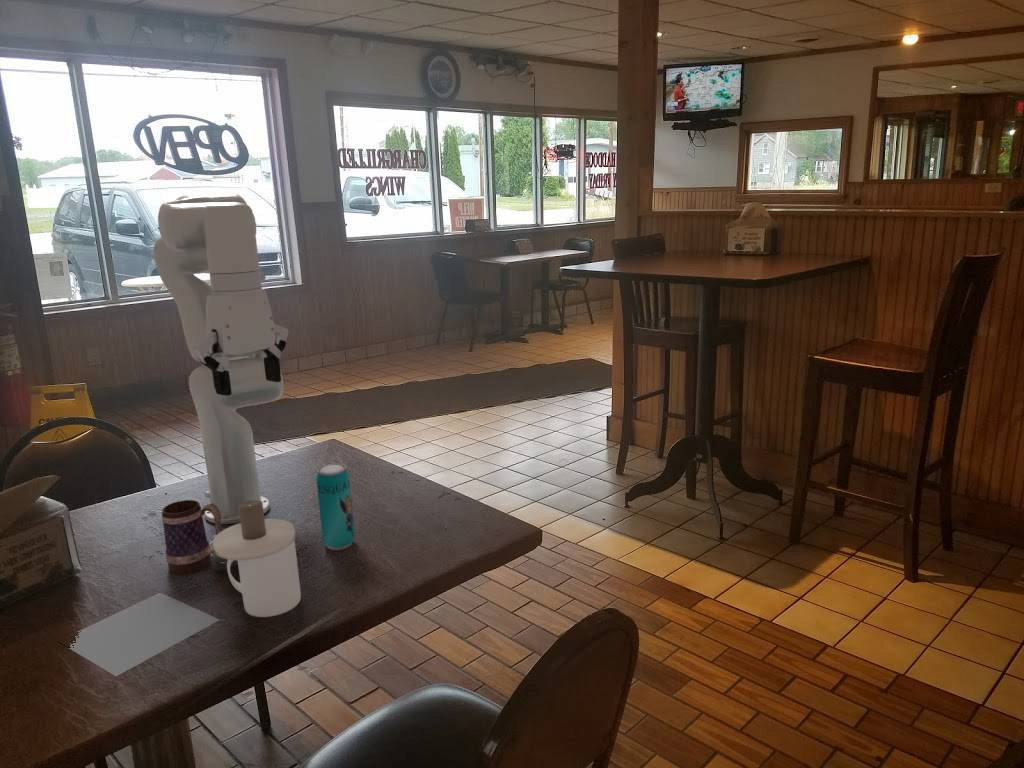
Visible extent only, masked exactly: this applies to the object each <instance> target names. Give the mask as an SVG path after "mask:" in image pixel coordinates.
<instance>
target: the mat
mask: <svg viewBox="0 0 1024 768" xmlns="http://www.w3.org/2000/svg"><path fill="white" fill-rule="evenodd" d="M219 621H221V619H219V618H217V617H214V616H213V615H211V614H208V613H206V612H203V611H202V610H199V609H197V608H195V607H193V606H191V605H189V604H187V603H184V602H182V601H180V600H178V599H175V598H173V597H171V596H169V595H166V594H165V593H162V592H158V593H155V594H154V595H152V596H150V597H148V598H146V599H144V600H141V601H139V602H137V603H134V604H133V605H130V606H129V607H127V608H124V609H123V610H120V611H118V612H116V613H114V614H112V615H110V616H107V617H106V618H104V619H101V620H100V621H97V622H95V623H93V624H90V625H89V626H87V627H84V628H82V629H80V630H78V631H77V632H80V631H81V632H80V633H78V634H79V635H78V636H79V638H77V637H78V636H75V637H76V643H73V644H71V643H70V644H71V645H70V647H71V648H68V649H69V650H70V649H71V651H72V652H74V653H75V654H77V655H79V656H81V657H82V658H84V659H85V660H87V661H89V662H90V663H92V664H94V665H96V666H97V667H99V668H101V669H102V670H104V671H106V672H107V673H109V674H111V675H112V676H114V677H115V678H116V677H118V676H121V675H122V674H124V673H126V672H128V671H130V670H132V669H134V668H135V667H136V666H139V665H141V664H143V663H145V662H146V661H149V660H150V659H152V658H153V657H155V656H157V655H159V654H161V653H163V652H164V651H166V650H168V649H170V648H172V647H174V646H176V645H177V644H179V643H181V642H183V641H185V640H187V639H188V638H190V637H192V636H193V635H195V634H197V633H200V632H202V631H203V630H205V629H207V628H209V627H211V626H212V625H214V624H216V623H217V622H219ZM73 642H75V641H73ZM72 645H74V646H72ZM73 647H74V648H73Z"/></svg>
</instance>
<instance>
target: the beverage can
mask: <svg viewBox="0 0 1024 768" xmlns="http://www.w3.org/2000/svg"><path fill="white" fill-rule="evenodd" d="M316 471H317V475H316V479H315V480H316V488H317V489H316V490H317V495H318V496H317V499H318V508H319V516H320V526H321V535H322V536H321V537H322V540H323V543H324V545H325V546H326V548H327V549H329V550H332V551H342V550H345V549H347V548H349V547H351V546H352V544H353V542H354V538H355V523H354V522H355V521H354V515H353V514H354V513H353V503H352V495H351V494H352V492H351V483H350V473H349V471H348V470H347V465H346V464H344V463H343V464H342V463H329V464H324V465H321V466H320V467H318V468H317V469H316Z"/></svg>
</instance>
